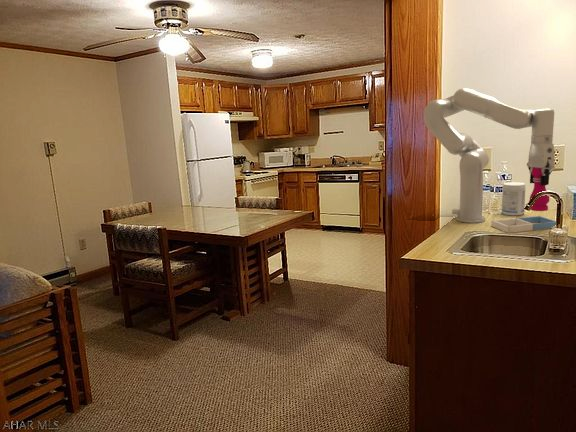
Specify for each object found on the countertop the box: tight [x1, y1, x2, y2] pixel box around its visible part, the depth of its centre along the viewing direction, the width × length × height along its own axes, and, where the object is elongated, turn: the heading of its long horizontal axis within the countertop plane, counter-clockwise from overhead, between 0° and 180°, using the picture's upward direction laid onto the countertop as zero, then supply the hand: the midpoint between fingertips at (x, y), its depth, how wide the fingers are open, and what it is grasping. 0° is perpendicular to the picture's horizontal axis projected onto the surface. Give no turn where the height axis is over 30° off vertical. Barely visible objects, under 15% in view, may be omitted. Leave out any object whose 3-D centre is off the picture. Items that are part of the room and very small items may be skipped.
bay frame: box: [490, 215, 557, 234], centre depth 179 cm, size 22×12×2 cm, turn 96°
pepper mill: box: [529, 167, 550, 212], centre depth 176 cm, size 7×7×20 cm
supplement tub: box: [501, 181, 526, 217], centre depth 201 cm, size 10×10×15 cm
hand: (539, 183), depth 176 cm, fingers closed on pepper mill, 5 cm apart
